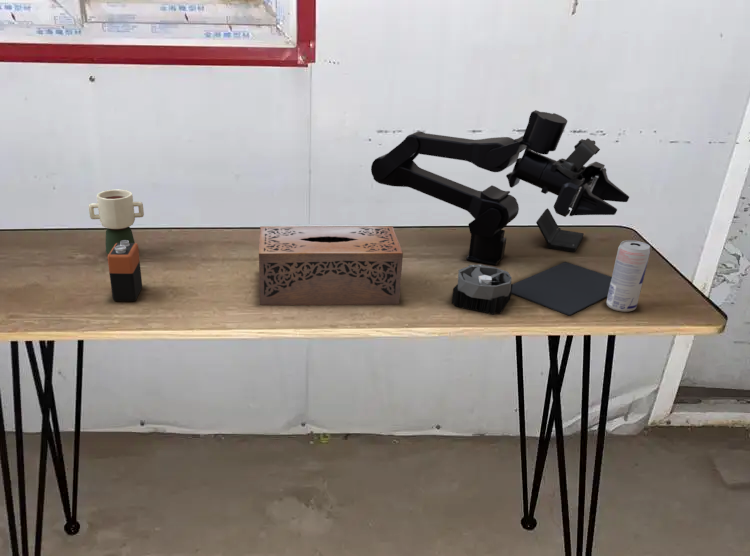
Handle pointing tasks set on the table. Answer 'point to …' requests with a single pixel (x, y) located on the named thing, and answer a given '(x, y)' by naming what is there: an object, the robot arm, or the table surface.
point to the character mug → (116, 215)
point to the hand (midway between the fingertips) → (622, 205)
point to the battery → (125, 271)
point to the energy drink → (628, 275)
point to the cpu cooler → (482, 289)
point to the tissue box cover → (329, 265)
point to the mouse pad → (564, 288)
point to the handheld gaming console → (558, 234)
